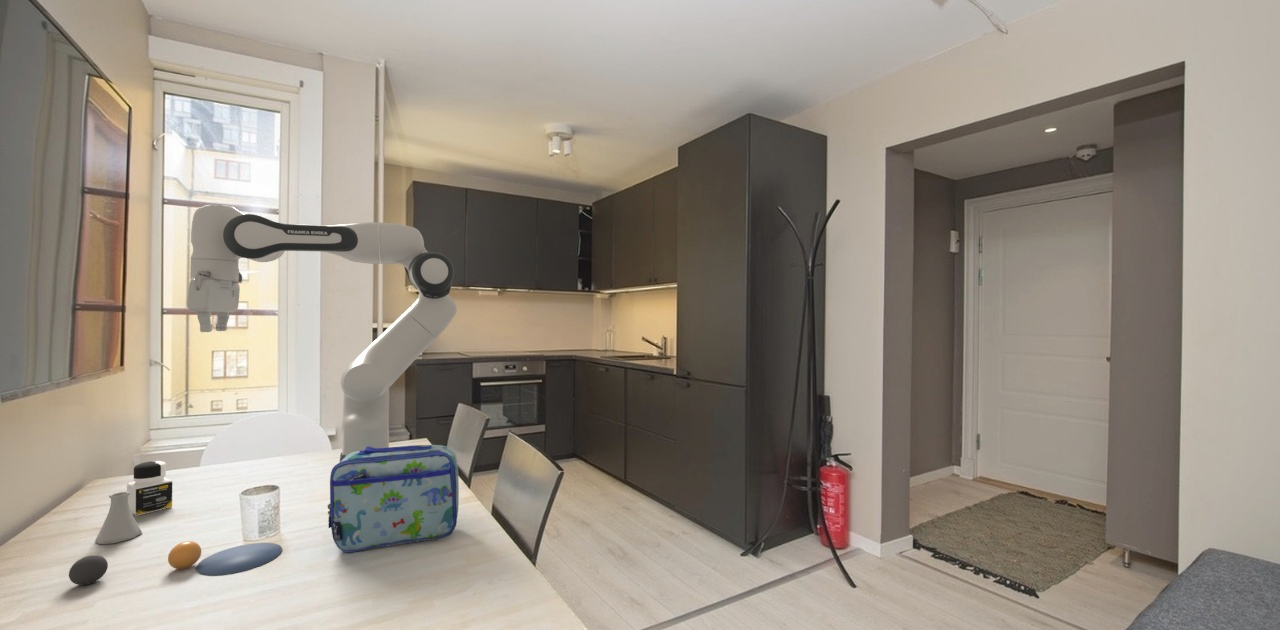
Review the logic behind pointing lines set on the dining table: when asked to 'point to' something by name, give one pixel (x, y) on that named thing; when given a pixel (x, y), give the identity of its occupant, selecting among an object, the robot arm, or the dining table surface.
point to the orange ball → (184, 555)
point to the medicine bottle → (149, 488)
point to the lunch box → (393, 496)
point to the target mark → (239, 559)
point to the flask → (118, 521)
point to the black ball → (88, 570)
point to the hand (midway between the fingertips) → (213, 331)
